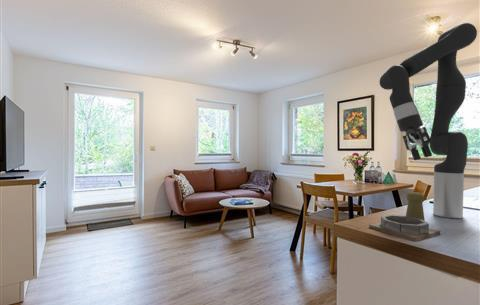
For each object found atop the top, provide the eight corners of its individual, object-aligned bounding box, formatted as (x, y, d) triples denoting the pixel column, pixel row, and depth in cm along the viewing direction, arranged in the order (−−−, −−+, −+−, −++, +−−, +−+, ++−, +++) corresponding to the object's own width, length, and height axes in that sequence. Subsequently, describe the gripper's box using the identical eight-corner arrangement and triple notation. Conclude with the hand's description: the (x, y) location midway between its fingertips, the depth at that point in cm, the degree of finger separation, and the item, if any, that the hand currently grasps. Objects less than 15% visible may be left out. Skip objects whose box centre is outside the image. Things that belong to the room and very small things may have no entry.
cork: (428, 227, 87) (429, 194, 87) (408, 225, 88) (409, 193, 88) (420, 222, 93) (421, 191, 93) (401, 221, 94) (402, 190, 94)
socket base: (394, 222, 92) (394, 212, 92) (440, 234, 79) (440, 222, 79) (369, 227, 85) (369, 217, 85) (414, 241, 73) (414, 228, 73)
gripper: (427, 108, 90) (444, 152, 87) (410, 119, 104) (424, 158, 101) (404, 114, 92) (420, 158, 88) (390, 124, 105) (404, 162, 102)
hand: (422, 158), depth 95 cm, fingers open, 8 cm apart
